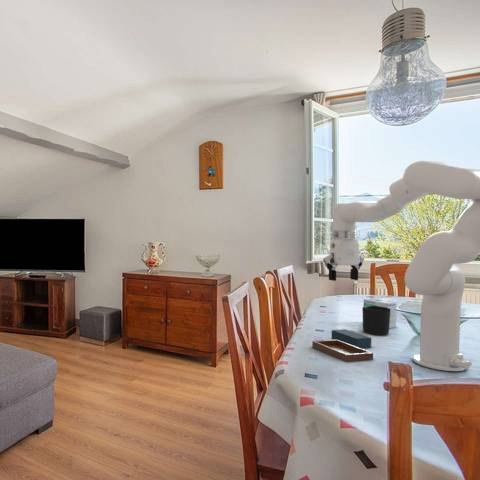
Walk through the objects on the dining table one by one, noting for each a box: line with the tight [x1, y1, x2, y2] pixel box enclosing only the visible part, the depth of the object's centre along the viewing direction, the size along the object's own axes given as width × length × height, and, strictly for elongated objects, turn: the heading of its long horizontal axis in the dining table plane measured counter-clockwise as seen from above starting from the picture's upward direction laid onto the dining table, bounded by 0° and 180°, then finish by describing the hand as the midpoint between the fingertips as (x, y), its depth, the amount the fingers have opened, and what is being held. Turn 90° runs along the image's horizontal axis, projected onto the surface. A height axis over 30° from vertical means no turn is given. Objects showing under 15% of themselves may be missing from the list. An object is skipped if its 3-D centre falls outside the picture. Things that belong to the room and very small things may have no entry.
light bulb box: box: [362, 297, 398, 329], centre depth 173 cm, size 11×7×11 cm, turn 25°
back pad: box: [331, 328, 372, 349], centre depth 146 cm, size 12×6×4 cm, turn 13°
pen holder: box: [362, 306, 390, 336], centre depth 160 cm, size 9×9×10 cm
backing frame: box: [311, 339, 374, 363], centre depth 135 cm, size 16×10×2 cm, turn 13°
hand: (343, 280), depth 154 cm, fingers open, 9 cm apart
